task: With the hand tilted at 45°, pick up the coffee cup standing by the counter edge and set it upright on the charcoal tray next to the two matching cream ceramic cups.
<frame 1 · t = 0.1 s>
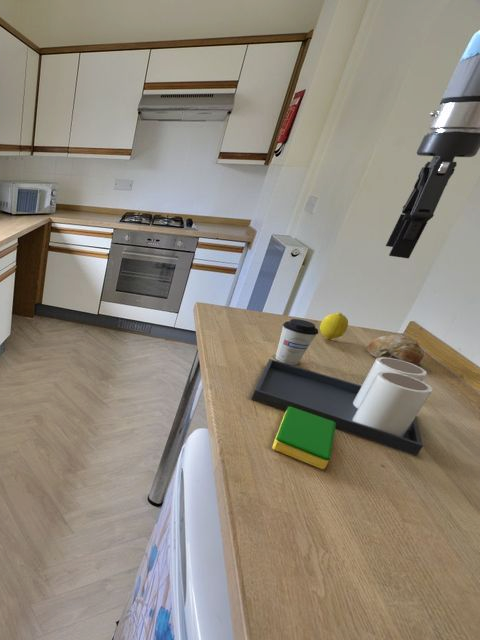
hand: (396, 251, 81), 29 cm above the countertop, tool pointing down, fingers open, 13 cm apart
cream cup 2: (376, 427, 75), resting on cup tray
lemon: (327, 340, 114), on the countertop
bread roll: (390, 358, 105), on the countertop
cup tray: (328, 404, 83), on the countertop
dish sponge: (301, 441, 72), on the countertop
coffee cup: (286, 360, 101), on the countertop
cream cup 1: (375, 409, 81), resting on cup tray
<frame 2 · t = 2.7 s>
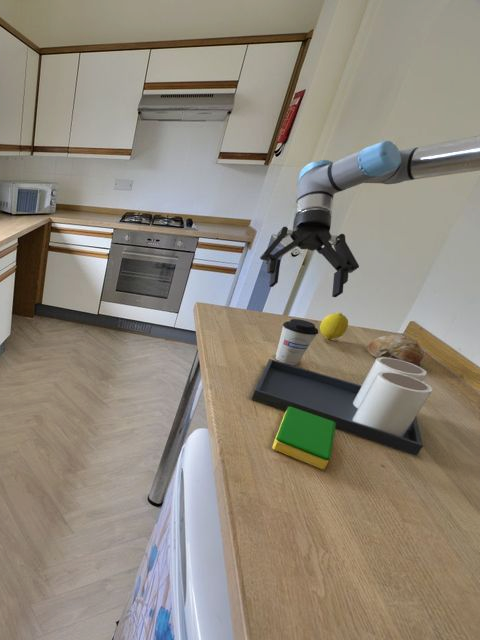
hand: (304, 289, 101), 16 cm above the countertop, tool tilted 40°, fingers open, 13 cm apart
nothing on the countertop moved.
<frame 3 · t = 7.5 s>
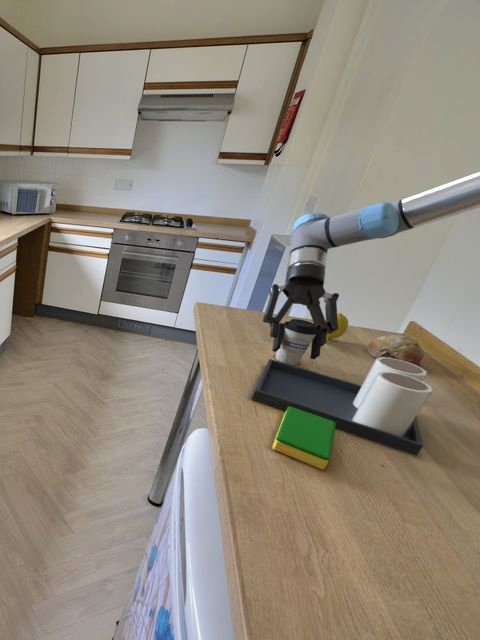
hand: (295, 353, 96), 3 cm above the countertop, tool tilted 45°, fingers closed on coffee cup, 7 cm apart
coffee cup: (286, 360, 101), on the countertop, touching gripper
everything else where it was.
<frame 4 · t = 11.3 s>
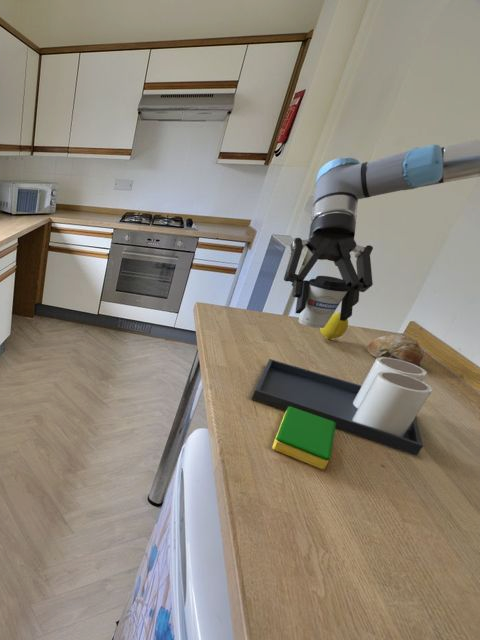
hand: (322, 314, 84), 16 cm above the countertop, tool tilted 45°, fingers closed on coffee cup, 7 cm apart
coffee cup: (311, 324, 88), point 13 cm above the countertop, touching gripper
everything else where it was.
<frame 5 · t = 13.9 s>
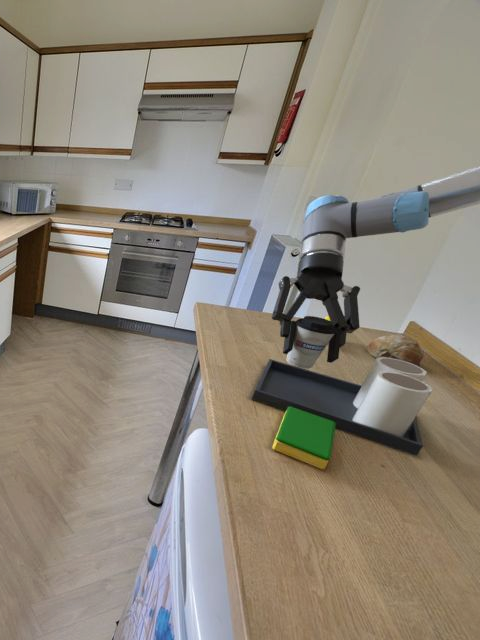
hand: (309, 355, 83), 9 cm above the countertop, tool tilted 45°, fingers closed on coffee cup, 7 cm apart
coffee cup: (298, 364, 88), point 5 cm above the countertop, touching gripper
everything else where it was.
when the fingers open (4 cm above the countertop, at t = 15.6 s): coffee cup stays where it is, resting on cup tray.
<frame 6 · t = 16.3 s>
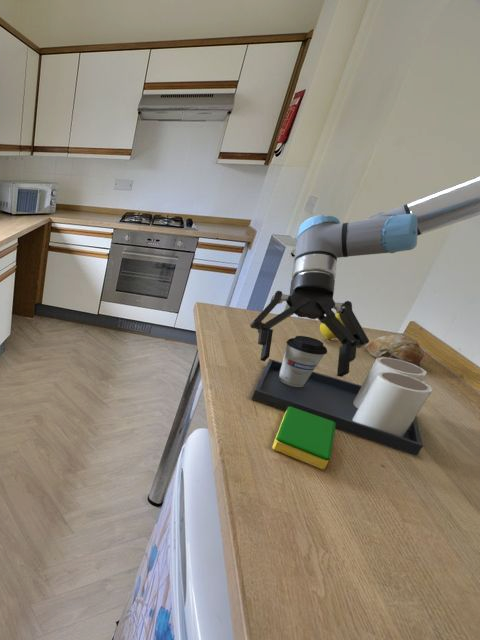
hand: (302, 366, 86), 6 cm above the countertop, tool tilted 45°, fingers open, 13 cm apart
coffee cup: (290, 382, 90), resting on cup tray
everything else where it was.
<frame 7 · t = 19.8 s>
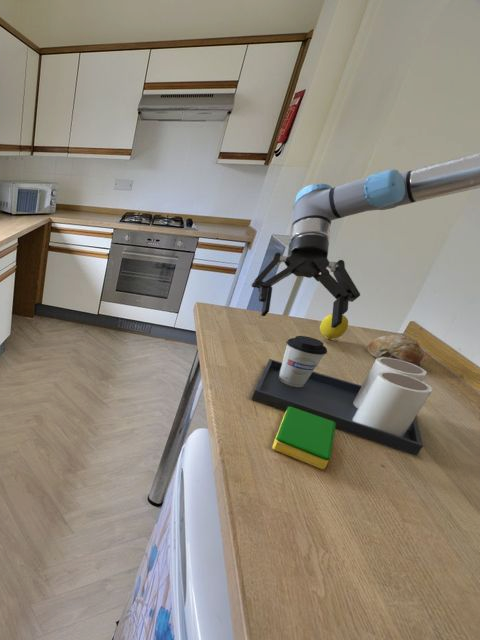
hand: (299, 319, 94), 12 cm above the countertop, tool tilted 45°, fingers open, 13 cm apart
nothing on the countertop moved.
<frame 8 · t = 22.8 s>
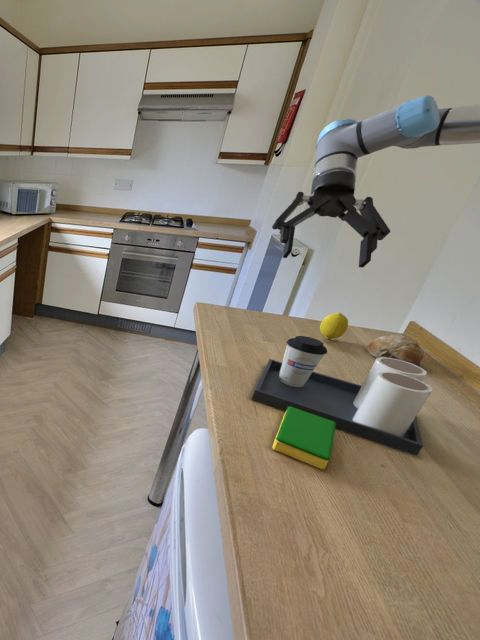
hand: (324, 259, 88), 26 cm above the countertop, tool tilted 45°, fingers open, 13 cm apart
nothing on the countertop moved.
at the end: coffee cup inside the target area in the cup tray (0.4 cm from its centre), point 0.4 cm above the cup tray's base; coffee cup tilted 0°; the gripper is holding nothing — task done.
